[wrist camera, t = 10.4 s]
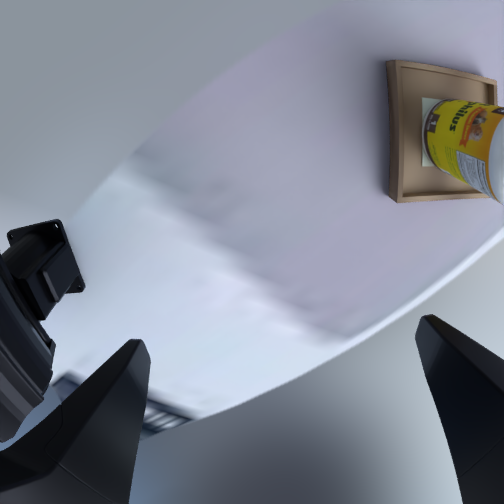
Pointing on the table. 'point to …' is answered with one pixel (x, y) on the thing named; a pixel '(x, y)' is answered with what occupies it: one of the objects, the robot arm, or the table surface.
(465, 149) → the supplement bottle
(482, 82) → the tray
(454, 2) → the table surface
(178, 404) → the table surface
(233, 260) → the table surface
